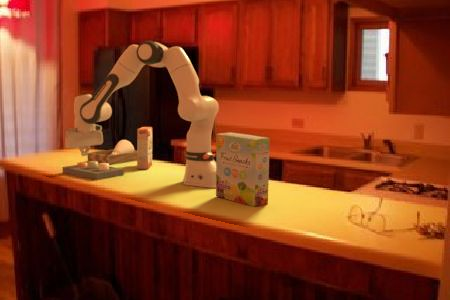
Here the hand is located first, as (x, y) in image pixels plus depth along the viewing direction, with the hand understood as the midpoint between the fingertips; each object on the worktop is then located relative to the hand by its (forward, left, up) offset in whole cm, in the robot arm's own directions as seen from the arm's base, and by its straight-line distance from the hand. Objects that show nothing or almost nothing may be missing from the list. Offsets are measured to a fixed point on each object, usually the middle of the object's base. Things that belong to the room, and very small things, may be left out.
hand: (84, 155), depth 242 cm
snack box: (-91, -4, -9) cm, 92 cm away
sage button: (-6, 0, -7) cm, 9 cm away
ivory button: (-14, 0, -7) cm, 16 cm away
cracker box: (-11, -30, -9) cm, 33 cm away
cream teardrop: (+17, -35, -9) cm, 40 cm away
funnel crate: (+16, -33, -9) cm, 37 cm away
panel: (-6, 0, -9) cm, 10 cm away
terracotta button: (+2, 0, -8) cm, 9 cm away
